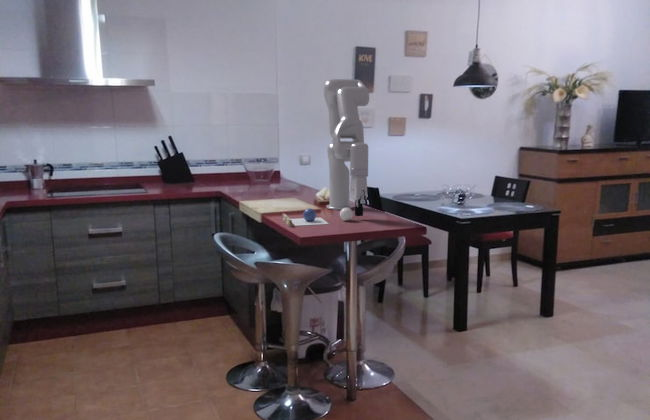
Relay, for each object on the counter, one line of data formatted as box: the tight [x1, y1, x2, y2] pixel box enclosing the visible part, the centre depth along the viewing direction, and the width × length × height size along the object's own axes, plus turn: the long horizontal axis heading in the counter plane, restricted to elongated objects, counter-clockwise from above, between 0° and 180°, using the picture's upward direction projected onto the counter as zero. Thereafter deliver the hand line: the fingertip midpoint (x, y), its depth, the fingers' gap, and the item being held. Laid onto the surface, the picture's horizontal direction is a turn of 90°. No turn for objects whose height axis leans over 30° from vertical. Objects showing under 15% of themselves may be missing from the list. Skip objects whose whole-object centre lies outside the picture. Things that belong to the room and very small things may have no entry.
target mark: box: [290, 217, 330, 227], centre depth 223 cm, size 14×14×1 cm
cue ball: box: [339, 208, 354, 222], centre depth 224 cm, size 6×6×6 cm
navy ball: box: [302, 207, 317, 222], centre depth 223 cm, size 6×6×6 cm
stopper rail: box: [282, 213, 293, 228], centre depth 220 cm, size 16×1×2 cm, turn 14°
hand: (358, 215), depth 228 cm, fingers closed
